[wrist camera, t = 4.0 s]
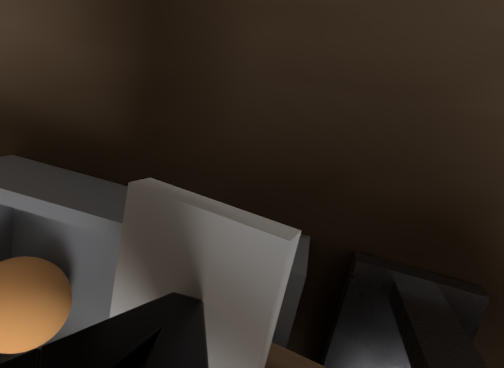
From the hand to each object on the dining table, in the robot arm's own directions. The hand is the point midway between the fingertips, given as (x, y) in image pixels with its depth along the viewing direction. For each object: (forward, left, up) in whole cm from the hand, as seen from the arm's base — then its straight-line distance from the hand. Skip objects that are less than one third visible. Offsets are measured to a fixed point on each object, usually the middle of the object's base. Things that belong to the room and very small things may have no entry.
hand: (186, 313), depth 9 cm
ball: (-6, +9, -6) cm, 12 cm away
